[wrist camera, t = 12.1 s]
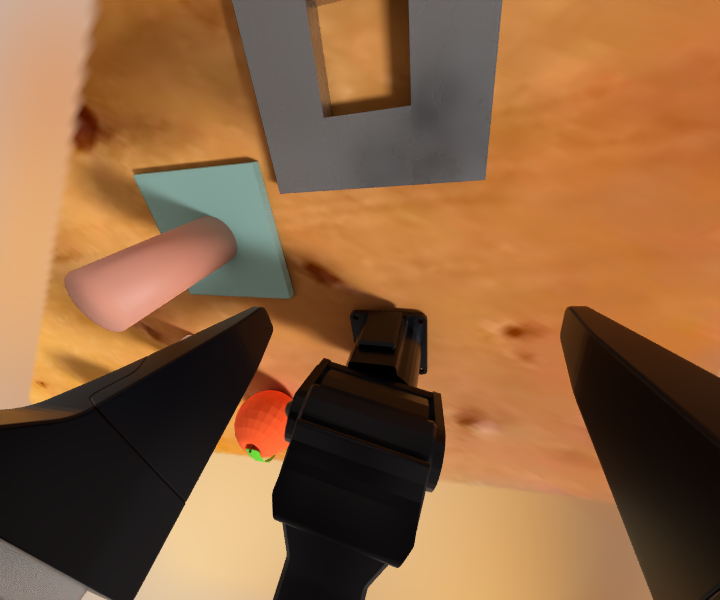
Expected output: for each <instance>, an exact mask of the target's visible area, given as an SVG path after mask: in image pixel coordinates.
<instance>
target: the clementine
mask: <svg viewBox="0 0 720 600" xmlns="http://www.w3.org/2000/svg"><path fill="white" fill-rule="evenodd" d="M290 400H292V399H291V398H290V397H289V396H287V395H286V394H284V393H282V392H280V391H275V390H266V391H262V392H258V393H256V394H254V395H253V396H251V397H250V398H248V399H247V400H246V401H245V402H244V403H243V404H242V406H241V407H240V409H239V411H238V413H237V416H236V419H235V424H234V426H235V436H236V438H237V441H238V443H239V445H240V446H241V448H242V449H243V450H244V451H246V452H247V453H248V454H249V455H250V456H251V457H252V458H253V459H255V460H257V461H262V462H270V461H271V460H272V459H273V458H274V456H275V455H276V454H277V453H279V452H281V451H283V450H284V449H285V448H286V447H287V446H289V442H286V441H285V438H284V434H285V427H286V423H287V416H286V413H285V408H286V405H287V403H288V402H289V401H290ZM273 455H274V456H273ZM267 456H273V457H271V458H270V459H268V460H265V461H264V460H263V459H262V458H261V457H267Z"/></svg>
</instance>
